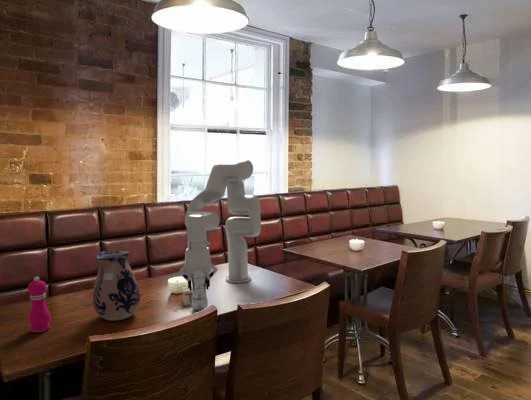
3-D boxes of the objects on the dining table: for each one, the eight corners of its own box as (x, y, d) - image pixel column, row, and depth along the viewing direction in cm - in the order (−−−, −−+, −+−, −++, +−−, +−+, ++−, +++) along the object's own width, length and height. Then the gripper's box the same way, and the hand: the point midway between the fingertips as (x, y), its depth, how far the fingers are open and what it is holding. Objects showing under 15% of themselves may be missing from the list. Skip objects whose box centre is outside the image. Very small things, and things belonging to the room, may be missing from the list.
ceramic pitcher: (114, 329, 153) (110, 262, 150) (78, 318, 164) (74, 255, 161) (150, 313, 168) (147, 251, 165) (115, 304, 179) (112, 246, 176)
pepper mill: (35, 326, 157) (30, 274, 155) (55, 325, 158) (50, 273, 156) (25, 334, 150) (20, 280, 148) (46, 333, 151) (42, 279, 149)
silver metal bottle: (210, 307, 173) (209, 259, 171) (203, 313, 166) (201, 263, 164) (196, 305, 175) (195, 258, 173) (188, 311, 169) (187, 262, 166)
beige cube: (183, 300, 182) (182, 287, 181) (197, 299, 183) (196, 285, 183) (183, 305, 176) (182, 291, 175) (197, 304, 177) (197, 290, 176)
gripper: (218, 242, 173) (219, 284, 175) (175, 244, 170) (177, 288, 172) (219, 245, 166) (221, 290, 168) (175, 248, 162) (177, 294, 164)
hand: (199, 288), depth 170 cm, fingers closed on silver metal bottle, 6 cm apart
